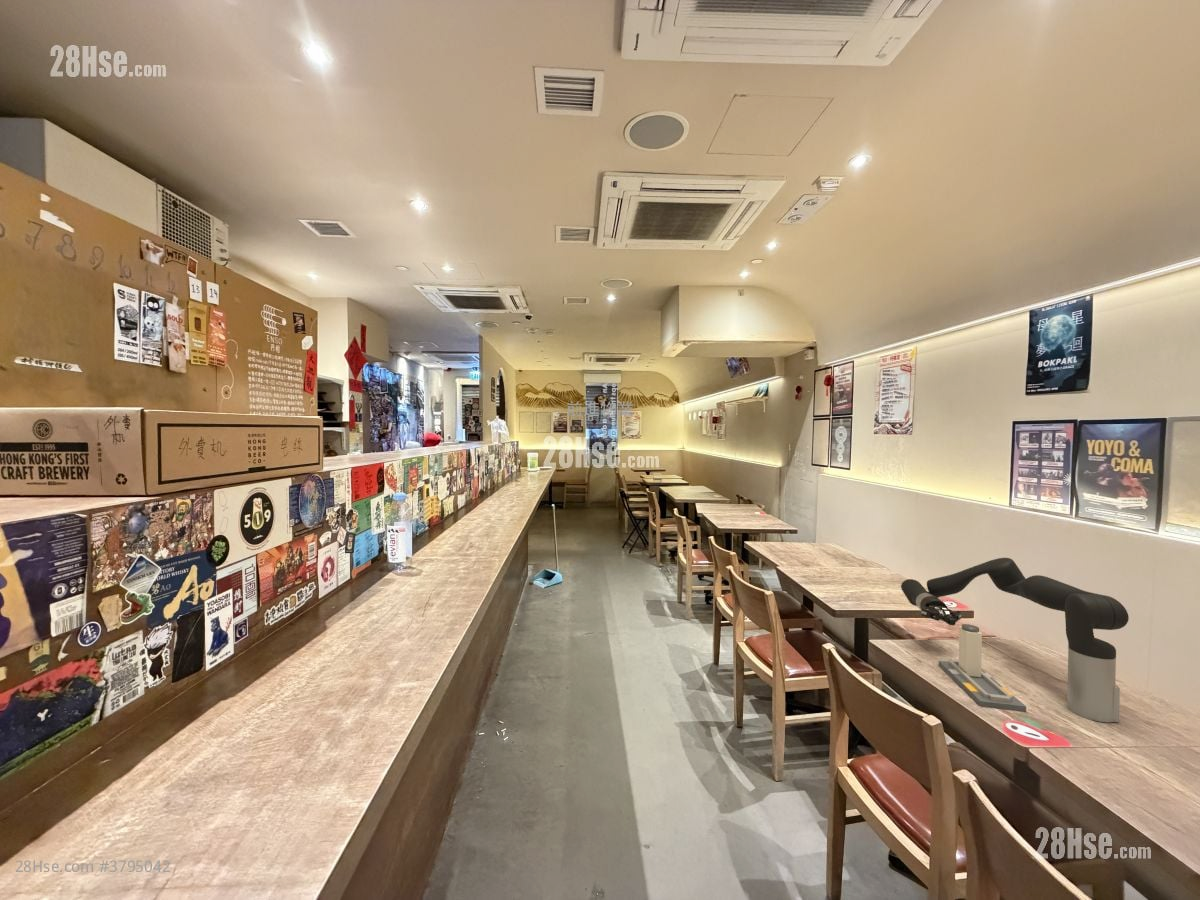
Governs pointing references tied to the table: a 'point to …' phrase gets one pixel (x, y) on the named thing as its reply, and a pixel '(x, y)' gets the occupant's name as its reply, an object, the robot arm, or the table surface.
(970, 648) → the slider knob
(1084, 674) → the robot arm
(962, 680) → the switch panel
